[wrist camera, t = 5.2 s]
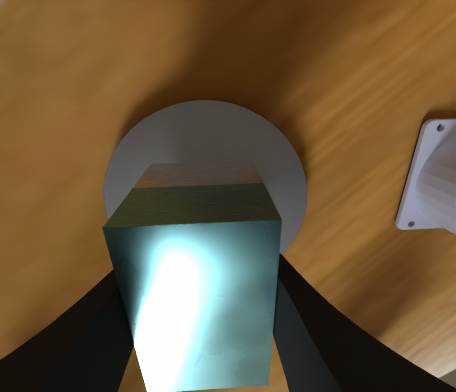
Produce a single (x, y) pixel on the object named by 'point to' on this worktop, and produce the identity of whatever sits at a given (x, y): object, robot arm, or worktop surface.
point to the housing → (198, 274)
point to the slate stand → (212, 153)
